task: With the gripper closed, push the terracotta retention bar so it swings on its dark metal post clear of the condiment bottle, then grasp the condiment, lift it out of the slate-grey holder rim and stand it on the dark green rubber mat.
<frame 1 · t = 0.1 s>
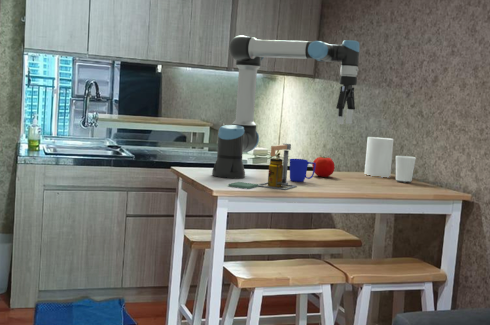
hand: (344, 124, 298), 28 cm above the table, fingers open, 13 cm apart
cup: (403, 182, 333), on the table
condiment: (276, 187, 285), resting in holder
mug: (301, 182, 308), on the table
canister: (377, 176, 355), on the table
mat: (243, 186, 278), on the table
clip: (280, 149, 285), point 16 cm above the table, hinge at 0.0°
holder: (276, 186, 285), on the table
post: (283, 184, 293), on the table
tomato: (322, 176, 334), on the table
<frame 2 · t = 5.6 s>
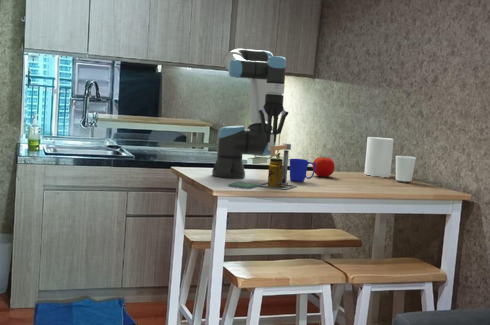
hand: (270, 150, 281), 15 cm above the table, fingers closed
clip: (280, 149, 285), point 16 cm above the table, hinge at 0.0°, touching gripper
everything else where it was.
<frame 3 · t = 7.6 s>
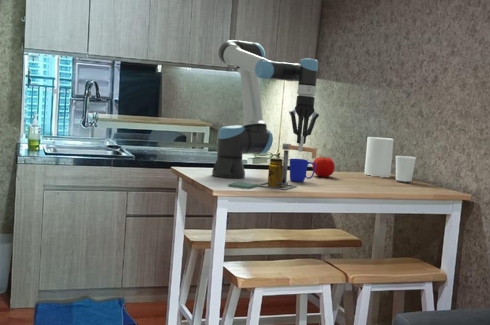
hand: (300, 151, 284), 16 cm above the table, fingers closed
clip: (299, 150, 287), point 16 cm above the table, hinge at 70.1°, touching gripper
everything else where it was.
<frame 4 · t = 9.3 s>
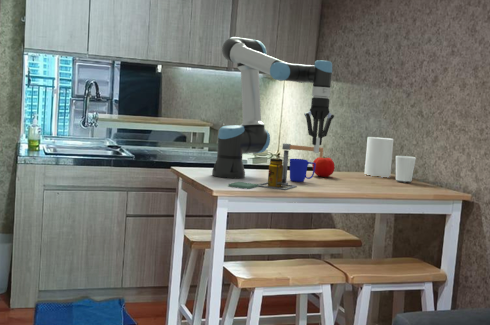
hand: (316, 152, 286), 15 cm above the table, fingers closed
clip: (302, 150, 290), point 16 cm above the table, hinge at 97.4°, touching gripper
everything else where it was.
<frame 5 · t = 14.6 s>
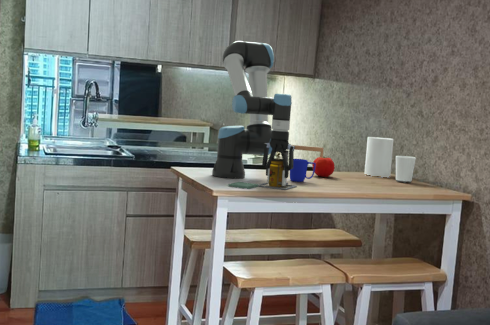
hand: (276, 184, 285), 1 cm above the table, fingers closed on condiment, 6 cm apart
condiment: (277, 187, 285), resting in holder, touching gripper
clip: (302, 150, 290), point 16 cm above the table, hinge at 100.7°
everything else where it was.
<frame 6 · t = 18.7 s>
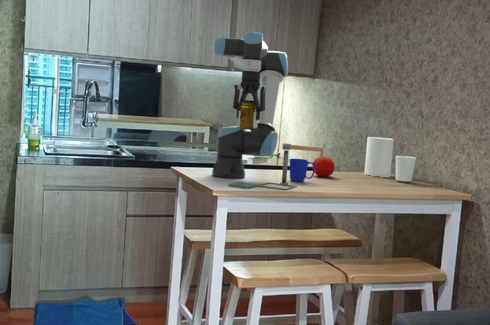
hand: (247, 127, 276), 25 cm above the table, fingers closed on condiment, 6 cm apart
condiment: (248, 129, 276), point 24 cm above the table, touching gripper
everything else where it was.
when the fingers open (3 cm above the table, at t = 23.1 s): condiment stays where it is, resting on mat.
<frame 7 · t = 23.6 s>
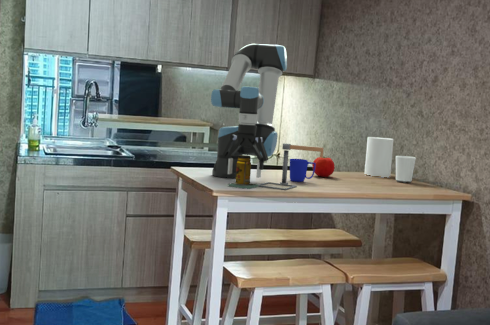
hand: (244, 175, 278), 5 cm above the table, fingers open, 12 cm apart
condiment: (244, 184, 278), point 1 cm above the table, touching mat
everything else where it was.
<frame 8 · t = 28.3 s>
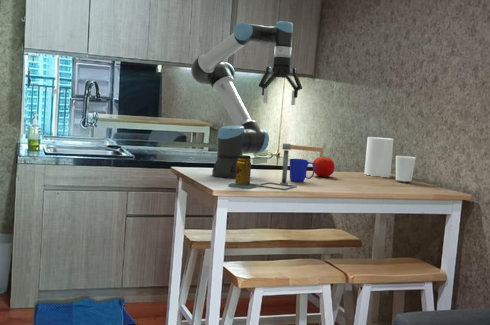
hand: (278, 104, 302), 35 cm above the table, fingers open, 13 cm apart
nothing on the table moved.
at the end: clip at +101° (first picture: +0°); condiment inside the target area on the mat (0.3 cm from its centre), point 0.8 cm above the mat's base; condiment tilted 0° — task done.
